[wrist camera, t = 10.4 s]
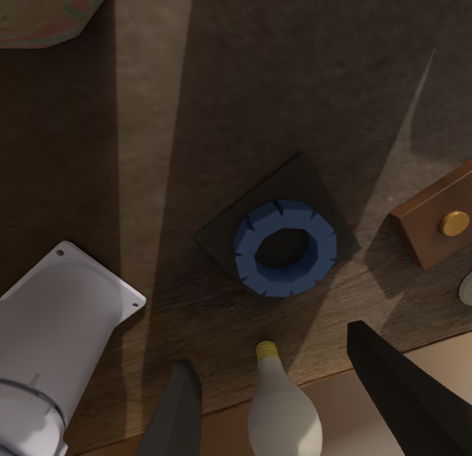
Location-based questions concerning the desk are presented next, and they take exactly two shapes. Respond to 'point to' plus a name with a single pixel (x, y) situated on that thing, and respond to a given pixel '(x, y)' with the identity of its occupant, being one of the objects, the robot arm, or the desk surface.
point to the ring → (297, 274)
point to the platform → (437, 218)
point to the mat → (286, 239)
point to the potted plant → (43, 21)
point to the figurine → (466, 290)
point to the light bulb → (281, 412)
